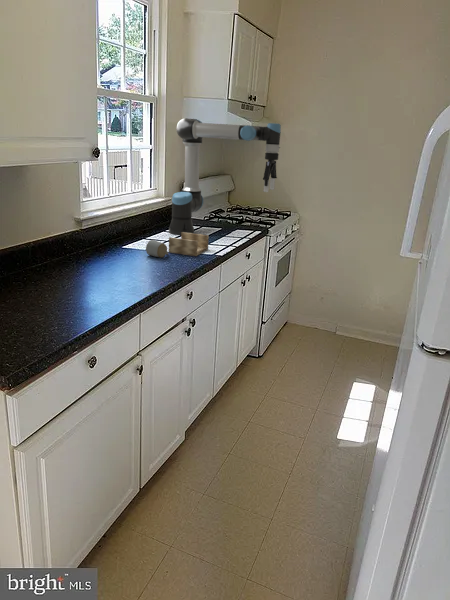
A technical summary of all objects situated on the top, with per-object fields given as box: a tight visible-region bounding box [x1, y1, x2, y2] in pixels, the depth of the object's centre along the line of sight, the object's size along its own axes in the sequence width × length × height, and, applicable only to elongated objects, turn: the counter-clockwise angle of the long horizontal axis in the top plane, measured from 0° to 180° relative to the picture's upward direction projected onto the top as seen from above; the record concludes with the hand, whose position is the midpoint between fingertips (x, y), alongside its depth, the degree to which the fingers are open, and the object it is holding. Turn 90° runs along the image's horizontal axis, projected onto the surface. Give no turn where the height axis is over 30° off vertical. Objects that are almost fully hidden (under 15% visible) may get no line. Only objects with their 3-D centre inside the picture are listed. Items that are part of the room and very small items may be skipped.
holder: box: [168, 232, 210, 257], centre depth 249 cm, size 15×16×8 cm
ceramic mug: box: [145, 239, 170, 259], centre depth 236 cm, size 11×8×8 cm
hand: (268, 190), depth 280 cm, fingers open, 13 cm apart
